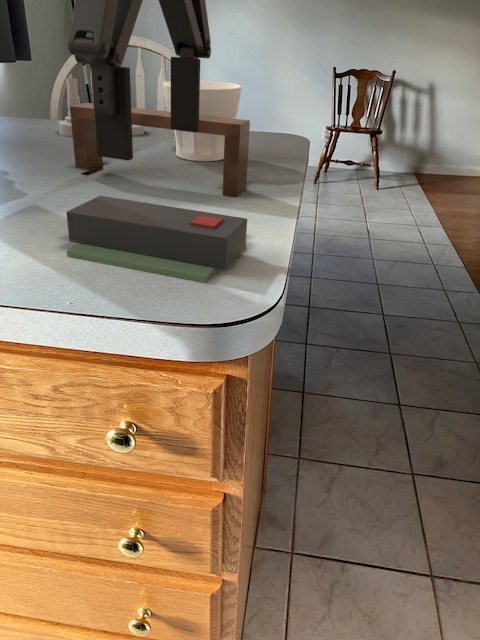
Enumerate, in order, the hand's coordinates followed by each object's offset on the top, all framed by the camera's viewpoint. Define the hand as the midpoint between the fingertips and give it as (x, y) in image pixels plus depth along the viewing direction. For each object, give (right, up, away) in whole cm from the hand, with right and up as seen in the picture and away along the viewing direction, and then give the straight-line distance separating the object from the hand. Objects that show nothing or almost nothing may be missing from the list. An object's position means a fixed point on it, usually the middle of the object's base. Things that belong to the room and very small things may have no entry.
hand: (154, 142), depth 48 cm
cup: (+1, +11, +42) cm, 44 cm away
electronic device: (-17, +17, +51) cm, 57 cm away
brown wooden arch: (-3, +3, +27) cm, 27 cm away
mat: (0, -9, +5) cm, 10 cm away
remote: (0, -8, +5) cm, 10 cm away
